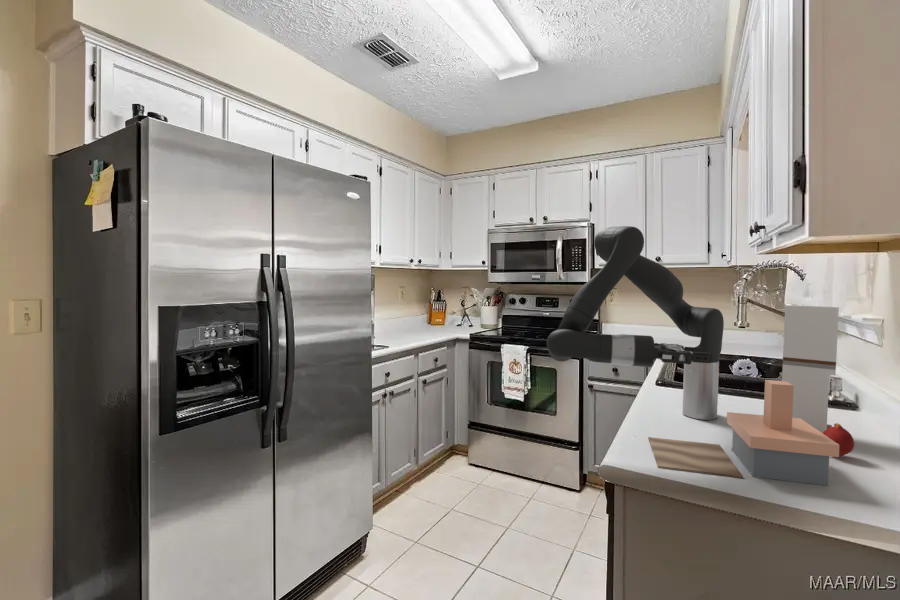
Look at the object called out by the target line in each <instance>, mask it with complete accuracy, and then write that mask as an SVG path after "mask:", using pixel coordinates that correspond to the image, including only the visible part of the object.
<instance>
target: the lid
mask: <svg viewBox="0 0 900 600" xmlns="http://www.w3.org/2000/svg"><path fill="white" fill-rule="evenodd" d="M793 390H794V385H792V384H790V383H788V382H786V381H782V380H773V379H765V380H764V399H763V400H764V401H763V414H753V413H741V412H732V411H731V412H728V411H727V412H726V423H727V424H728V425H729V426H730V427H731V429H732V431H733V430H734V431H735V432H736V433H737V434H738V435H739V436H740V437H741V438H742V439H743V440H744V442H745V443H746V444H747V445H748V446H749V447H750V448H757V449H767V450H776V451H785V452H794V453H804V454H813V455H822V456H829V457H831V458H840V457H839V444H837V443H836V442H834V441H833V440H831V439H830V438H828V437H827V436H826V435H824V434H823V433H821V432H820V431H818V430H817V429H815V428H814V427H812V426H811V425H809V424H808V423H806V422H805V421H804V420H802V419H801V418H792V412H793Z"/></svg>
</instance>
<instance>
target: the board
mask: <svg viewBox="0 0 900 600" xmlns="http://www.w3.org/2000/svg"><path fill="white" fill-rule="evenodd" d="M647 439H648V442H649V446H650V449H651V451H652V453H654V454H653V457H654V459H655V462H656V466H657V468H659V469H660V468H662V469H666V470H667V469H668V470H676V471H682V472H691V473H692V472H693V473H697V474H698V473H700V474H707V475H708V474H709V475H715V476H721V477H731V478H739V479H744V475H743V473H741V471H740V470H739V468H738V467H737V466H736V464H735V463H734V462H733V460H732V459H731V458H730V457H729V455H728V454H727V452H726V451H725V450H724V448H722V446H721V444H717V443H709V442H708V443H707V442H698V441H690V440H689V441H688V440H678V439H669V438H659V437H652V436H648V437H647Z"/></svg>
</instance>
